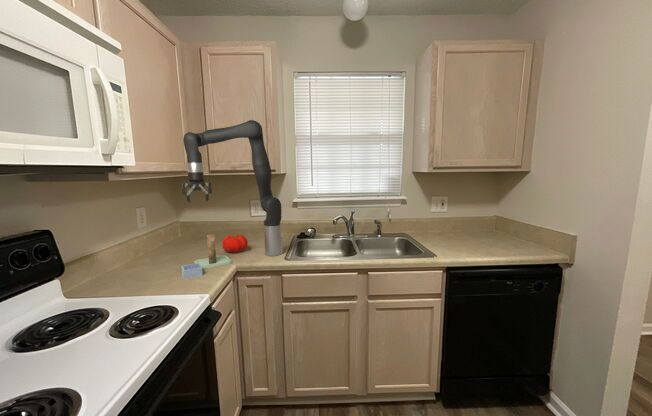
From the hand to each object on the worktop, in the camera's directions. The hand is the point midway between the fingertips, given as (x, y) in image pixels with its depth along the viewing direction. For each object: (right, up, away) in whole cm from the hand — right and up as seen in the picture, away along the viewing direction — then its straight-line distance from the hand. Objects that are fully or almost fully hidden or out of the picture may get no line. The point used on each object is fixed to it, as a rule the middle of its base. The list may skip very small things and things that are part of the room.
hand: (198, 201), depth 147 cm
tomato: (+14, -30, +19) cm, 38 cm away
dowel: (+10, -32, -5) cm, 34 cm away
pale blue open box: (+7, -35, -20) cm, 41 cm away
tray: (+10, -33, -5) cm, 35 cm away
